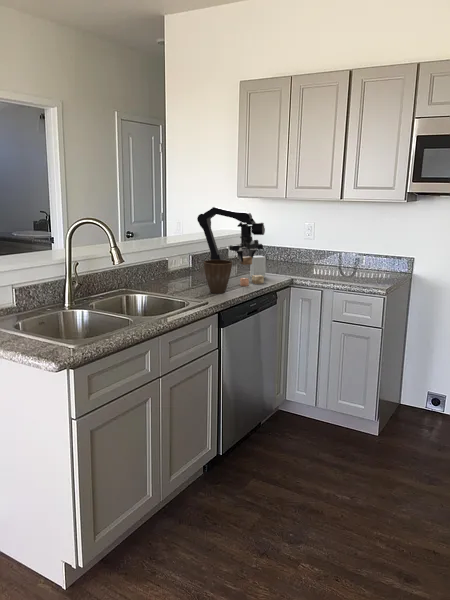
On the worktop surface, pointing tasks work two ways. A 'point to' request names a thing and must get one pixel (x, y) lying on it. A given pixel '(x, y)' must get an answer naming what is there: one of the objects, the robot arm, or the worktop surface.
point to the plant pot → (217, 274)
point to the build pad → (257, 284)
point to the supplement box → (258, 266)
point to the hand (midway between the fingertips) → (246, 262)
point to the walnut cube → (247, 260)
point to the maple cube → (257, 279)
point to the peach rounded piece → (244, 281)
